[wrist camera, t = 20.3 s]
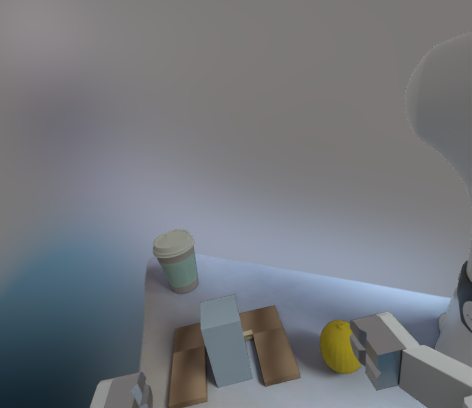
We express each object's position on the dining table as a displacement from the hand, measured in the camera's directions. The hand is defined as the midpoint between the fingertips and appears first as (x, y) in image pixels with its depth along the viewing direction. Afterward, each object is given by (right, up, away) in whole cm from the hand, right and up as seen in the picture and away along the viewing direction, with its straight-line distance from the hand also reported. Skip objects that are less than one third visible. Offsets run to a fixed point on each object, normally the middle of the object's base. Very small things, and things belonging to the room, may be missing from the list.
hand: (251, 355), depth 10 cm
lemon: (+14, -17, +27) cm, 35 cm away
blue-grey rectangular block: (-1, -18, +30) cm, 35 cm away
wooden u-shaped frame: (-1, -18, +32) cm, 37 cm away
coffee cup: (-12, -12, +50) cm, 53 cm away
